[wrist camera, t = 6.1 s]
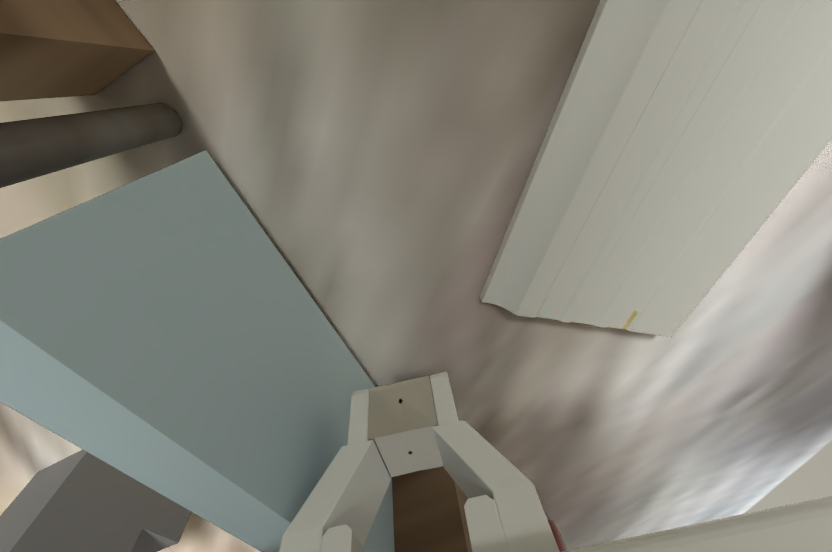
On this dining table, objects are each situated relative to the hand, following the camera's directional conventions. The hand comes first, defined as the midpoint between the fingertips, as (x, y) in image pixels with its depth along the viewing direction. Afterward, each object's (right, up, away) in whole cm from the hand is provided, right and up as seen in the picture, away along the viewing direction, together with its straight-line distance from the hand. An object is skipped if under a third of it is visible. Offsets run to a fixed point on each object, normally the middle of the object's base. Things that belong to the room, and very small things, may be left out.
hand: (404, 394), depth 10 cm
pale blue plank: (-4, +2, +2) cm, 5 cm away
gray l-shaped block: (-15, -6, +6) cm, 17 cm away
